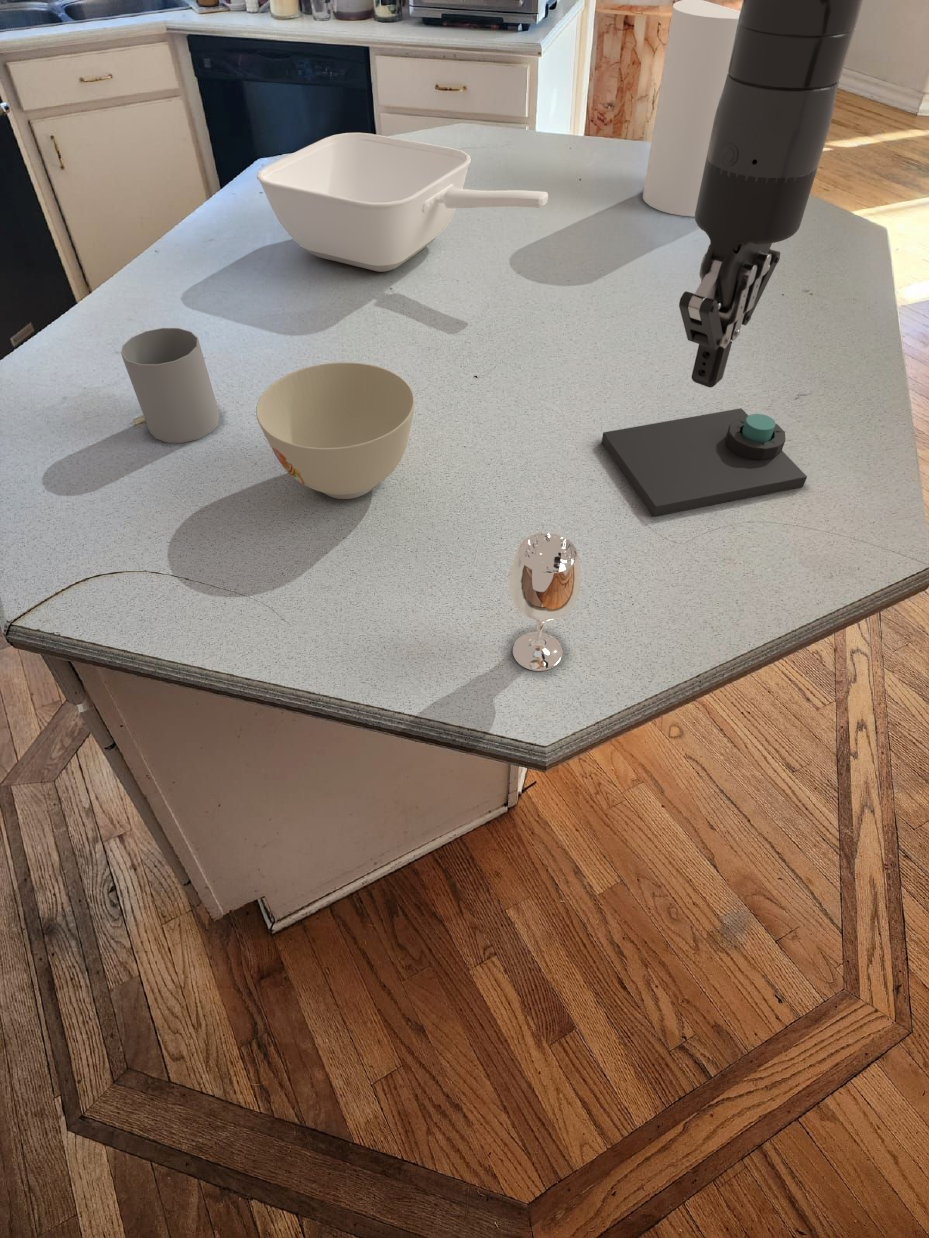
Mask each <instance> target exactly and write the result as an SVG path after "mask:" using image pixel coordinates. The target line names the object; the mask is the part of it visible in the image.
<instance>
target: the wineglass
mask: <svg viewBox="0 0 929 1238" xmlns="http://www.w3.org/2000/svg"><path fill="white" fill-rule="evenodd" d="M581 586H582V574H581V564H580V558H579V553H578V550H577V547H576V545H575V544H574V543H573V542H572V541H571V540H570V539H569V538H567V537H565V536H563V535H560V534H556V533H553V532H540V533H539V532H538V533H535V534H532V535H530V536H528V537H525V539H523V540H522V541H521V543H520V544H519V546H518V548H517V550H516V554H515V556H514V558H513V560H512V563H511V567H510V570H509V579H508V590H509V595H510V598H511V601H512V604H513V605H514V606H515V608H516V609H517V610H518V611H519V612H520V613H521V614H523V615H524V616H525V617H527V618H529V619H532V620H535V623H536V628H537V629H536V631H532V632H527V633H525V634H522V635H521V636H520V637H518V638H517V639H516V640H515V641H514V643H513V646H512V656H513V658H514V659H515V661H516V662H517V663H518V665H520V666H521V667H523V668H525V669H528V670H530V671H535V672H544V671H548V670H551V669H553V668H555V667H556V666H557V665H558V664H559V663H560V662H561V660H562V658H563V653H564V652H563V648H562V645H561V643H560V642H559V641H558V639H556V638H555V637H554V636H552V635H550V634H548V633H545V632H543V629H544V627H545V624H546V623H547V622H550V621H554V620H557V619H560V618H562V617H564V616H565V615H567V614H568V613H569V612H570V611H571V610H572V609H573V607H574V606H575V605H576V603H577V601H578V599H579V595H580V592H581Z"/></svg>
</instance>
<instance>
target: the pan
mask: <svg viewBox="0 0 929 1238" xmlns="http://www.w3.org/2000/svg"><path fill="white" fill-rule="evenodd" d="M471 162H472V160H471V155H470V154H468V153H467V152H465V151H464V150H462V149H457V148H454V147H449V146H444V145H439V144H433V143H426V142H421V141H414V140H411V139H409V140H408V139H403V138H397V137H393V136H386V135H380V134H376V133H375V134H374V133H367V132H345V133H344V132H343V133H339V134H338V133H337V134H333V135H330V136H326V137H324V138H322V139H320V140H317V141H316V142H313V143H311V144H309V145H307V146H305V147H302V148H301V149H298V150H297V151H295V152H293V153H290V154H289V155H286V156H284V157H282V158H280V159H278V160H276V161H274V162H272V163H270V164H268V165H265V166H264V167H262V168H261V169H259V170H258V172H257V175H256V179H257V180H258V181H259V183H260V185H261V188H262V189H263V192H264V194H265V196H266V199H267V200H268V203H269V205H270V207H271V209H272V211H273V214H274V215H275V217H276V219H277V220H278V222H279V224H280V225H281V226H282V227H283V229H284V230H285V232H287V233H288V235H289V236H290V237H291V238H292V240H293V241H295V243H297V244H298V245H299V246H300V247H301V248H303V249H304V250H305V251H307V252H308V253H309V254H311V255H313V256H315V257H317V258H321V259H325V260H329V261H333V262H337V263H340V264H341V263H342V264H346V265H350V266H353V267H357V268H361V269H367V270H370V271H375V272H378V273H379V272H380V273H382V272H384V273H385V272H390V271H392V270H395V269H397V268H399V267H400V266H401V265H403V264H404V263H406V262H408V260H410V259H411V258H413V257H414V256H415V255H417V254H418V253H419V252H421V251H422V250H424V249H425V248H427V247H428V246H429V245H431V244H432V243H433V242H434V241H435V240H436V239H437V238H438V237H439V236H440V235H441V234H442V233H443V232H444V231H445V229H446V228H447V226H448V225H449V224H450V222H451V220H452V219H453V217H454V215H455V213H456V211H457V209H477V208H479V209H480V208H503V207H504V208H505V207H507V208H508V207H514V208H515V207H516V208H532V209H533V208H534V209H540V208H542V207H544V206H545V205H546V204H547V203H548V200H549V193H548V192H547V191H539V190H538V191H537V190H524V189H523V190H522V189H508V190H507V189H506V190H505V189H504V190H503V189H501V190H481V189H469V188H468V189H467V188H464V186H465V182H466V178H467V173H468V169H469V166H470V164H471Z"/></svg>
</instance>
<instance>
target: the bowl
mask: <svg viewBox="0 0 929 1238" xmlns="http://www.w3.org/2000/svg"><path fill="white" fill-rule="evenodd" d="M415 404H416V399H415V394H414V391H413V390H412V387H411V386H410V384H409V383H408V382H407V381H406V380H405V379H403V378H402V377H401V376H400V375H398V374H396V373H395V372H393V371H391V370H390V369H389V370H388V369H387V368H383V367H380V366H377V365H373V364H370V363H369V364H368V363H362V362H348V361H347V362H344V361H342V362H341V361H340V362H339V361H338V362H328V363H321V364H315V365H311V366H307V367H304V368H303V367H302V368H301V369H298V370H295V371H292V372H290V373H288V374H286V375H283V376H282V377H280V378H278V379H277V380H275V381H274V382H273V383H272V384H270V385H269V386H268V387H267V388H266V389H265V390H264V391H263V393H262V394H261V395H260V397H259V399H258V401H257V403H256V407H255V414H256V420H257V423H258V425H259V427H260V429H261V431H262V433H263V435H264V437H265V439H266V441H267V443H268V444H269V447H271V450H272V451H273V453H274V455H275V457H276V458H277V461H278V462H279V463H280V465H281V467H283V468H284V470H285V471H286V472H287V473H288V474H289V475H290V476H291V478H293V479H294V480H295V481H297V482H299V483H300V484H302V485H303V486H305V487H307V488H309V489H312V490H314V491H317V492H320V493H323V494H324V495H326V496H328V497H330V498H333V499H338V500H352V499H357V498H359V497H362V496H365V495H366V494H368V493H369V492H370V491H371V490H372V489H374V487H375V486H377V485H379V484H380V483H381V482H383V481H385V480H386V479H387V478H388V477H389V476H390V475H391V474H392V473H393V472H394V470H396V469H397V467H398V466H399V464H400V463H401V460H402V458H403V456H404V454H405V452H406V449H407V447H408V442H409V437H410V432H411V428H412V421H413V418H414V417H413V416H414V411H415Z"/></svg>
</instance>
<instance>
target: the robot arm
mask: <svg viewBox="0 0 929 1238" xmlns="http://www.w3.org/2000/svg"><path fill="white" fill-rule="evenodd" d="M863 1H864V0H742V2H741V7H740V10H739V11H740V15H739V19H738V25H737V30H736V35H735V40H734V45H733V49H732V54H731V59H730V64H729V69H728V74H727V77H726V81H725V85H724V88H723V91H722V94H721V97H720V100H719V103H718V107H717V110H716V114H715V118H714V122H713V127H712V132H711V137H710V142H709V147H708V152H707V157H706V162H705V167H704V172H703V177H702V182H701V186H700V191H699V196H698V201H697V206H696V211H695V217H694V220H695V223H696V225H697V226H698V228H699V229H700V230H701V231H703V232H704V233H705V234H706V235H707V237H708V239H709V242H710V243H709V245H708V247H707V250H706V252H705V254H704V256H703V257H702V260H701V262H700V269H699V278H700V283H699V285H698V287H697V289H696V290H695V292H694V293H693V292H690V291H687V290H685V291H684V292H683V294H681V297H680V299H679V302H678V307H679V312H680V315H681V319H682V323H683V327H684V331H685V335H686V339H687V341H689V342H692V343H695V344H698V347H697V351H696V355H695V360H694V363H693V369H692V373H691V380H692V382H693V383H695V384H698V385H701V386H704V387H707V388H714V387H715V386H716V385H717V384H718V383H719V382H721V380H722V379H723V378H724V374H725V370H726V368H727V363H728V359H729V356H730V352H731V348H732V344H733V342H734V341H736V340H737V338H738V337H739V335H740V333H741V328H742V325H743V326H747V325H748V324H749V322H750V321H751V319H752V316H753V314H754V311H755V310H756V308H757V306H758V303H759V302H760V299H761V297H762V295H763V293H764V291H765V289H766V287H767V285H768V283H769V281H770V279H771V277H772V275H773V273H774V271H775V268H776V266H777V265H778V264H779V261H780V260H781V251H778V250H774V249H772V248H771V247H772V246H773V244H775V243H780V242H782V241H785V240H788V239H789V238H791V237H793V236H794V235H795V234H796V233H797V232H798V231H799V229H800V227H801V224H802V220H803V217H804V215H805V211H806V207H807V204H808V201H809V197H810V194H811V190H812V188H813V185H814V181H815V178H816V175H817V171H818V168H819V165H820V161H821V157H822V154H823V151H824V147H825V145H826V141H827V139H828V138H827V137H828V134H829V131H830V127H831V125H832V120H833V116H834V109H835V104H836V98H837V93H838V92H837V91H838V88H839V84H840V80H841V77H842V75H843V71H844V67H845V64H846V61H847V57H848V53H849V51H850V48H851V44H852V41H853V37H854V34H855V29H856V27H857V23H858V19H859V16H860V13H861V10H862V5H863Z"/></svg>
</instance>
